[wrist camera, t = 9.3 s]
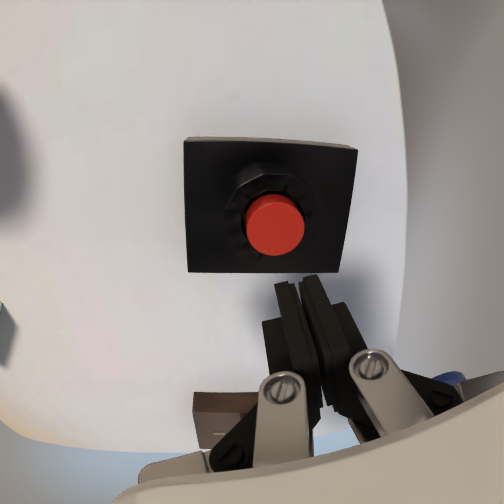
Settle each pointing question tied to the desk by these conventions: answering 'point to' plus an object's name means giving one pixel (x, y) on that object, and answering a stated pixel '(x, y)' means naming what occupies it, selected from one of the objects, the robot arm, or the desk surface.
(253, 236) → the button
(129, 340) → the desk surface
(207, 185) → the button block
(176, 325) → the desk surface
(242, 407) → the panel
